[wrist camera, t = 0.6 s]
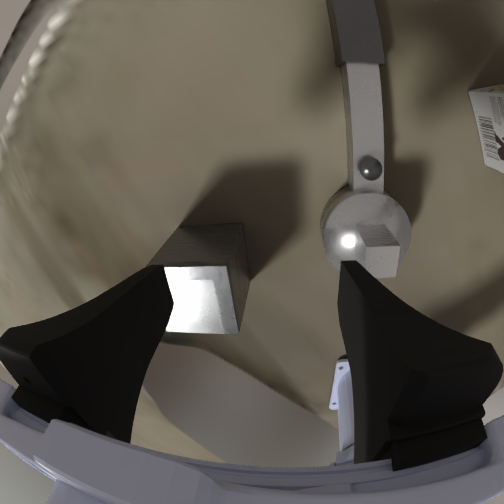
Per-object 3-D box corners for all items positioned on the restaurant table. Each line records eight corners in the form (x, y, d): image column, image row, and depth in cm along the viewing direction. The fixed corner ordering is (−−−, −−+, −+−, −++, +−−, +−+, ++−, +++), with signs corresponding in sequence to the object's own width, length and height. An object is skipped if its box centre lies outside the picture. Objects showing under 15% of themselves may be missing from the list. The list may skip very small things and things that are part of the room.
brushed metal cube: (250, 281, 23) (238, 334, 18) (191, 282, 24) (166, 331, 18) (242, 222, 21) (226, 265, 15) (178, 227, 21) (144, 268, 16)
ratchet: (394, 258, 20) (418, 301, 16) (320, 262, 21) (327, 308, 16) (376, -36, 10) (399, -69, 5) (291, -41, 11) (291, -82, 6)
